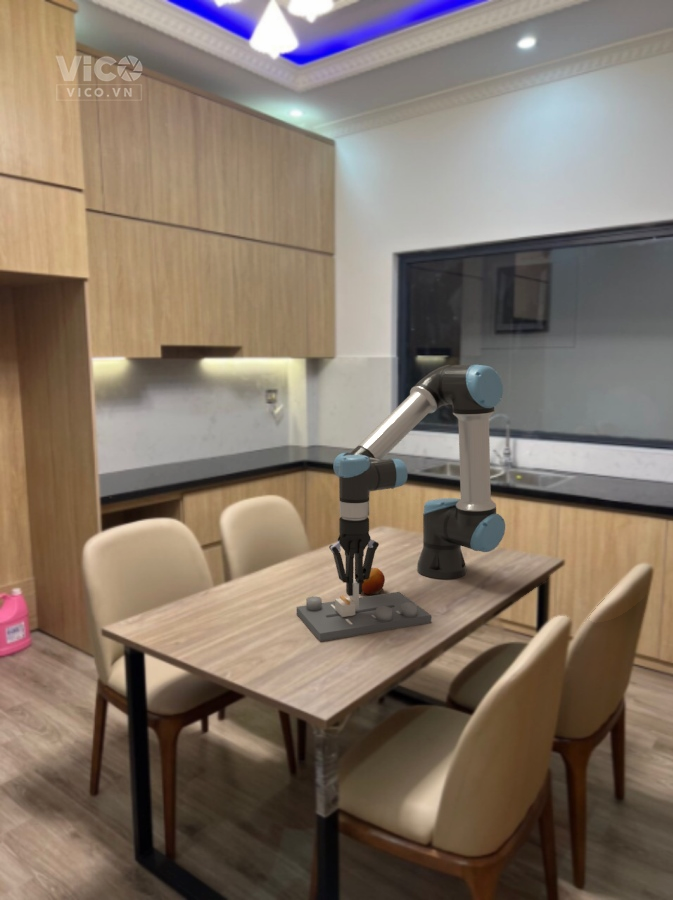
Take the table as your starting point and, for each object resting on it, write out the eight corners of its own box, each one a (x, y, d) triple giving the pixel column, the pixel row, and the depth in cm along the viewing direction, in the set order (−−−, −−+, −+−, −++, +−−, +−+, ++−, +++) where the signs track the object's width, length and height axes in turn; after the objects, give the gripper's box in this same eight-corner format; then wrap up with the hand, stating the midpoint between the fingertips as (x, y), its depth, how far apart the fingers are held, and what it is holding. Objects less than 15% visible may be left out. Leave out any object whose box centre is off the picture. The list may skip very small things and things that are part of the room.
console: (398, 598, 181) (399, 583, 180) (431, 622, 164) (431, 606, 163) (296, 614, 170) (296, 598, 169) (319, 641, 153) (319, 623, 153)
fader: (347, 608, 168) (347, 594, 167) (355, 615, 163) (355, 601, 163) (335, 610, 167) (335, 596, 166) (342, 617, 162) (342, 603, 161)
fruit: (389, 593, 181) (375, 568, 181) (365, 605, 183) (351, 581, 183) (392, 583, 189) (378, 559, 189) (369, 595, 191) (356, 572, 191)
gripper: (371, 511, 168) (371, 598, 171) (324, 515, 163) (325, 605, 167) (384, 517, 161) (383, 608, 164) (335, 522, 156) (335, 615, 160)
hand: (354, 606), depth 165 cm, fingers closed
